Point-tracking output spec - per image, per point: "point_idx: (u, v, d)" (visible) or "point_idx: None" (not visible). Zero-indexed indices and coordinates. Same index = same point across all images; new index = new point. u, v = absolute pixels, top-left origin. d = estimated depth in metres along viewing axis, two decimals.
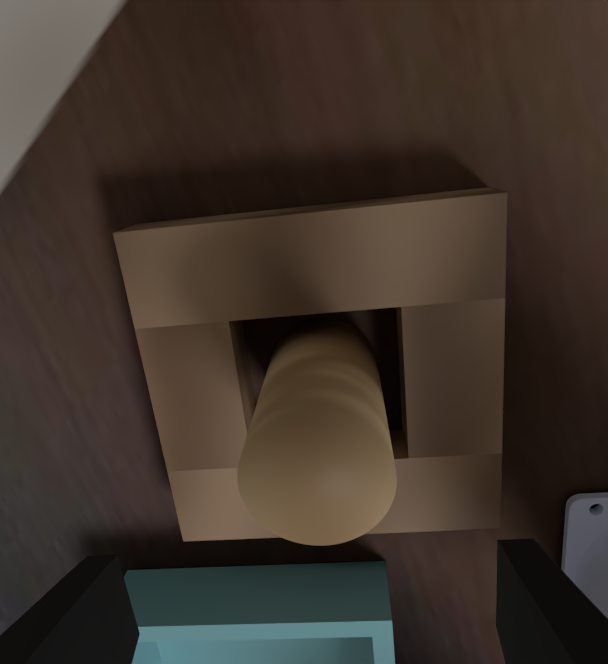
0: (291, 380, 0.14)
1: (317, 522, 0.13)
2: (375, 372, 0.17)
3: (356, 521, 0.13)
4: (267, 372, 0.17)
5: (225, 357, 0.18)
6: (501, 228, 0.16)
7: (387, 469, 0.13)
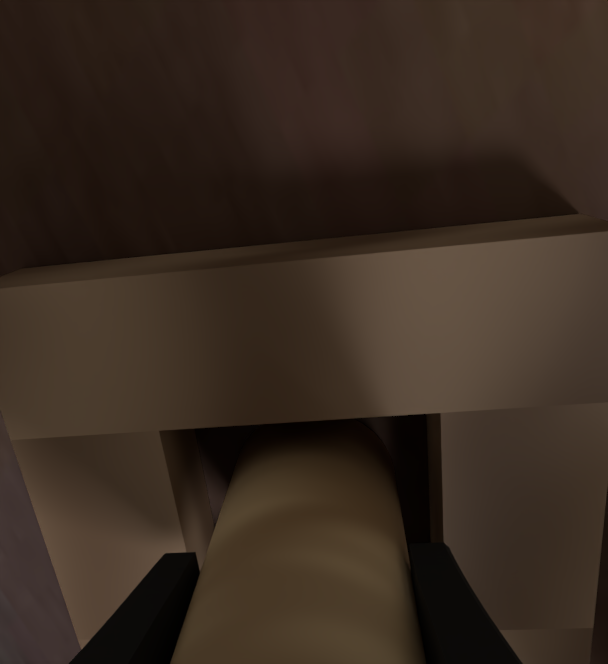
0: (248, 577, 0.08)
1: None
2: (396, 517, 0.10)
3: None
4: (221, 511, 0.11)
5: (157, 484, 0.11)
6: None
7: None
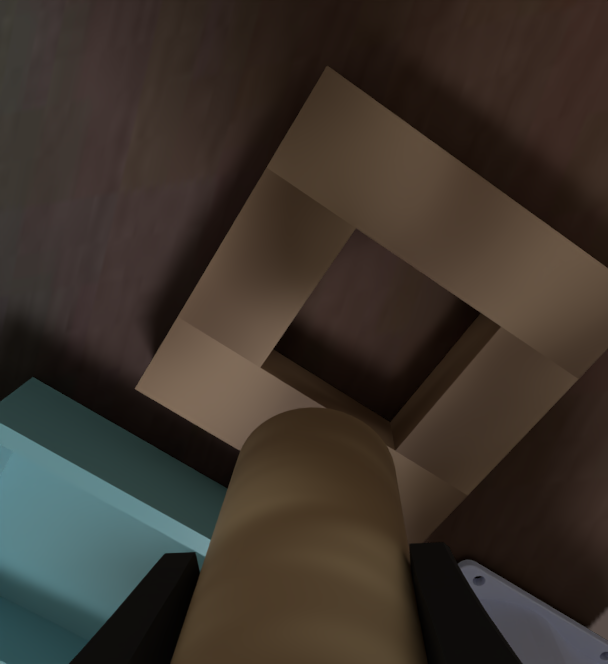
0: (252, 575, 0.08)
1: None
2: (398, 518, 0.10)
3: None
4: (222, 508, 0.11)
5: (324, 257, 0.16)
6: None
7: None
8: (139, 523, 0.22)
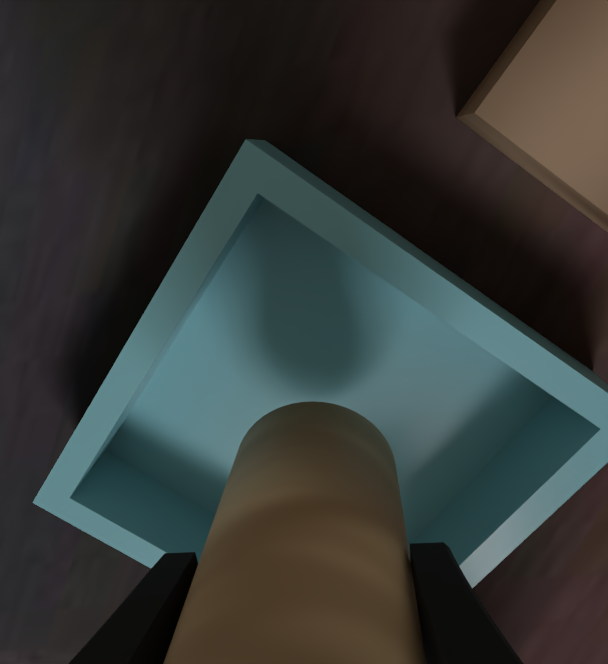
0: (255, 566, 0.08)
1: None
2: (400, 516, 0.10)
3: None
4: (223, 497, 0.11)
5: None
6: None
7: None
8: (394, 374, 0.15)
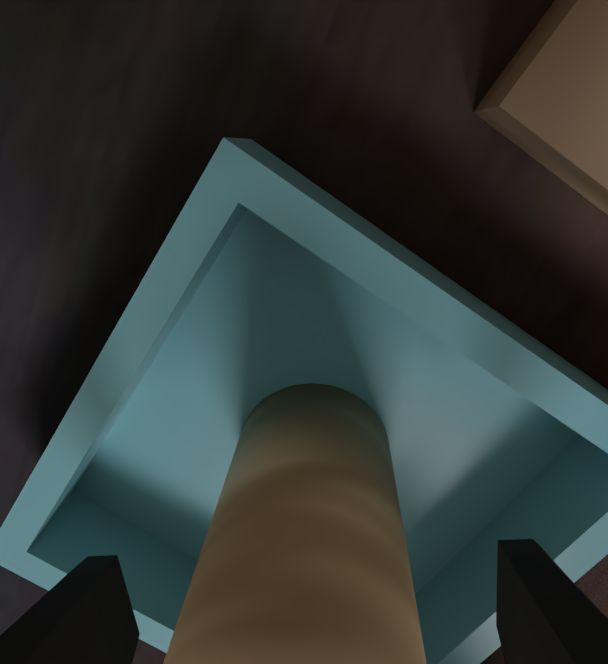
0: (263, 519, 0.09)
1: None
2: (392, 483, 0.11)
3: None
4: (230, 469, 0.11)
5: None
6: None
7: None
8: (400, 406, 0.13)
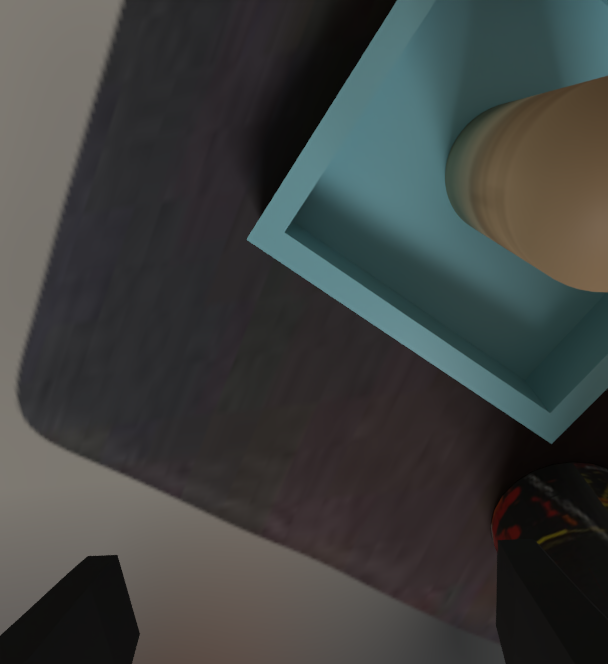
0: (564, 87, 0.11)
1: (606, 254, 0.10)
2: None
3: None
4: (475, 136, 0.14)
5: None
6: None
7: None
8: None
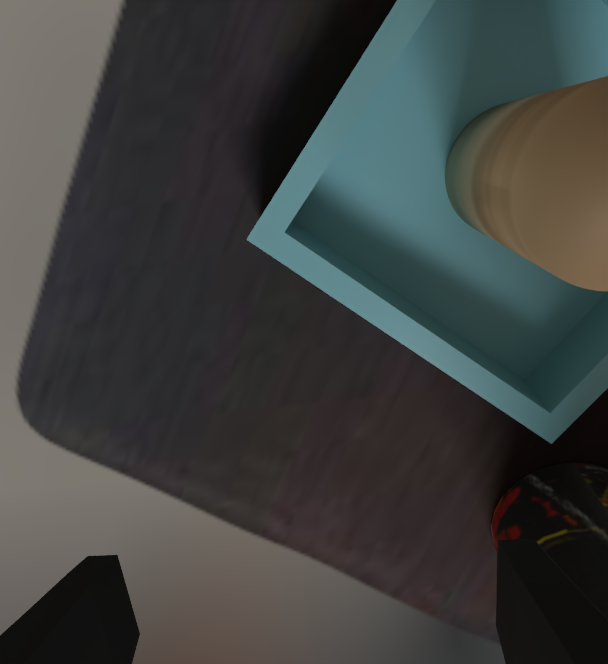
0: (567, 87, 0.11)
1: None
2: None
3: None
4: (476, 136, 0.14)
5: None
6: None
7: None
8: None
